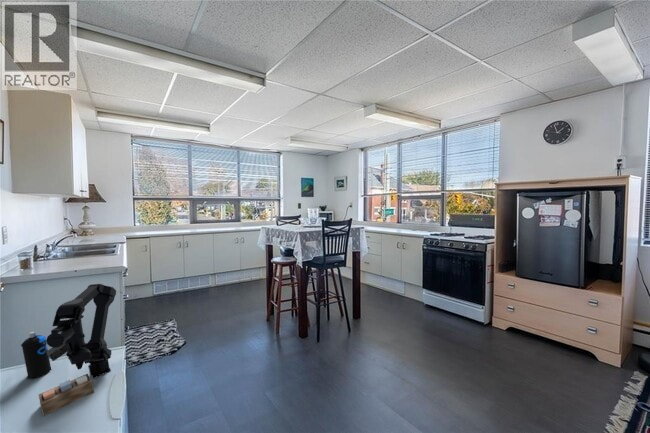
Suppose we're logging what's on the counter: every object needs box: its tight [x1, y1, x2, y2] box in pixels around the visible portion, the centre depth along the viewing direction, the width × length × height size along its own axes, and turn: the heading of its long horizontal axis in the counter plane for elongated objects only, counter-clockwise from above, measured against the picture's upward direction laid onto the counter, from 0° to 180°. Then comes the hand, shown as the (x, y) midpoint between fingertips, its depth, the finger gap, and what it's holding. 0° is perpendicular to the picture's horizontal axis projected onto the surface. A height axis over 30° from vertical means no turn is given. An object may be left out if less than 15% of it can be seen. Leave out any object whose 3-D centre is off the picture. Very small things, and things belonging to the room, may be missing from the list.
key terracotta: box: [42, 388, 55, 400], centre depth 114 cm, size 3×3×4 cm
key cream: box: [75, 374, 88, 386], centre depth 122 cm, size 3×3×4 cm
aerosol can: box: [20, 331, 52, 380], centre depth 134 cm, size 8×8×20 cm
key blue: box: [58, 379, 72, 393], centre depth 118 cm, size 3×3×4 cm
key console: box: [38, 373, 95, 417], centre depth 118 cm, size 15×8×5 cm, turn 140°
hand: (79, 368), depth 120 cm, fingers closed
